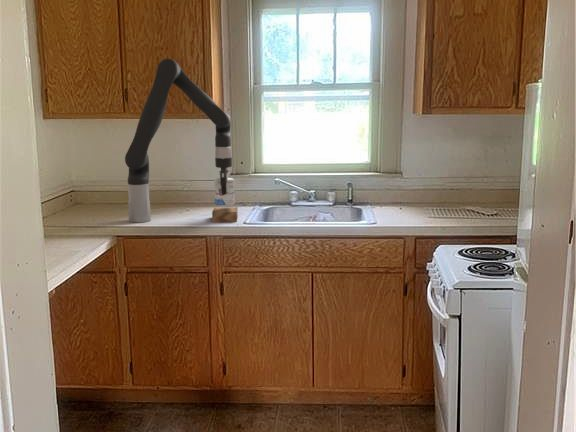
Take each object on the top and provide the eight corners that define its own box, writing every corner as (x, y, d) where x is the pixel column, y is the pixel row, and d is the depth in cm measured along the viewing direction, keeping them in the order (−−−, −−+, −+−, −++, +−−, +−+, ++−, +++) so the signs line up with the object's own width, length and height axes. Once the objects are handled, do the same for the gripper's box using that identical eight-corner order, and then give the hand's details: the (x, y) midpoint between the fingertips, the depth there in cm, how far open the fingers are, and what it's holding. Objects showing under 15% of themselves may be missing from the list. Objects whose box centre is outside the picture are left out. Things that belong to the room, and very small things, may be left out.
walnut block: (212, 222, 263) (212, 212, 262) (214, 218, 274) (214, 207, 273) (236, 222, 264) (236, 211, 263) (237, 217, 274) (237, 207, 273)
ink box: (216, 205, 264) (215, 179, 261) (214, 203, 268) (214, 178, 266) (235, 204, 266) (234, 178, 264) (233, 202, 271) (232, 177, 268)
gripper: (216, 155, 270) (217, 191, 273) (213, 158, 256) (215, 196, 259) (232, 155, 270) (233, 190, 273) (230, 158, 256) (231, 195, 259)
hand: (224, 193), depth 266 cm, fingers closed on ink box, 5 cm apart
